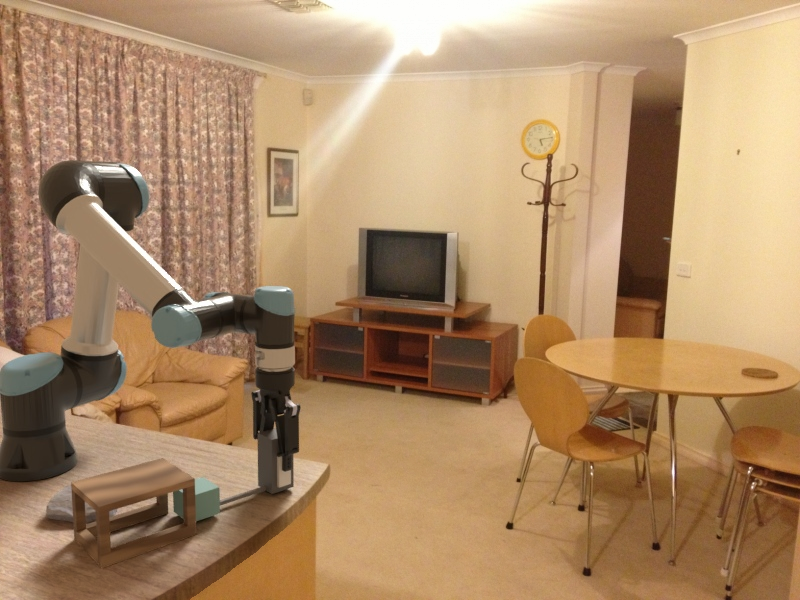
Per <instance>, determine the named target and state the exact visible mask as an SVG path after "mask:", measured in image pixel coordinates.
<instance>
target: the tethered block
mask: <svg viewBox="0 0 800 600" xmlns="http://www.w3.org/2000/svg"><path fill="white" fill-rule="evenodd" d="M278 453H280V451H279V445H278V438H277V431H276V427H275V428H274V429H271V430H267V431H263V432H260V431H258V440H257V486H258V487H257V488H254V489H251V490H247V491H244V492H242V493H239V494H236V495H232V496H229V497H226V498H222V499H221V495H220V486H218V485H217V484H215V483H214V482H212V481H210V480H209V479H207V478H206V477H204V476H202V477H199V478H195V506H196V522H198V521H202V520H204V519H207V518H210V517H213V516H215V515H216V516H217V515H219V514H220V513H221V506H224V505H227V504H230V503H233V502H235V501H239V500H241V499H245V498H247V497H250V496H253V495H257V494H259V493H262V492H265V491H266V492H268V493H270V494H272V495H273V494H276V493H279V492H282V491H285V490H288V489H291V488H294V483H295V482H294V480H295V479H294V454H292V468H291V484H289V485H286V486H283V487H280V488H279V487H277V454H278ZM172 501H173V506H172V507H173V512H174V514H176V515H177V516H179V517H180V518H181V519H182V520H184V517H183V489H181V490H178V491H174V492H172Z"/></svg>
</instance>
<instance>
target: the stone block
mask: <svg viewBox="0 0 800 600" xmlns="http://www.w3.org/2000/svg"><path fill="white" fill-rule="evenodd" d="M45 512H46V513H45V516H46V517H47V519H50V520H58V521H62V520H65V522H69V521H70V522H69V523H73V507H72V490H71V483H70V484H68V485H66V486H64V487H63V488H62V489H60V490H59V491H57V492H56V493H55V494H54V495H53V496H52V497H51V498H50V499H49V501H48V502H47V504H46V510H45ZM117 512H118V509H115V510H112V511H109V517H112V516H115V515H117ZM85 516H86V524H89V523H92V522H96V511H95V510H94V509H93V508H92V507H91V506H90V505H88V504H87V503H86V502H85Z"/></svg>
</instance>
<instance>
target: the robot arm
mask: <svg viewBox="0 0 800 600" xmlns="http://www.w3.org/2000/svg"><path fill="white" fill-rule="evenodd" d="M37 195H38V202H39V205H40V207H41V210H42V212H43V213H44V215H45V217H46V218H47V219H48V221H49V222H50V223H51V224H52V225H53V227H55V229H57V230H58V231H59V233H61V234H62V235H66V236H71V237H73V239H74V240H75V241H76V242H77V243H78V244H79V252H78V262H77V268H76V269H77V270H76V278H75V279H76V280H75V288H74V300H73V307H72V316H71V326H70V334H69V336H67V337H66V338H65V339H63V340H62V341H61V346H60V347H61V348H60V354H58V353H55V352H38V353H37V352H36V353H34V354H32V353H30V354H26V355H25V354H24V355H22V356H19V357H15V358H14V359H11V360H9V361H8V362H6V363H5V364H4V365H3V366H2V367H1V369H0V412H1V422H2V423H1V425H2V439H1V444H0V479H1V480H4V481H9V482H33V481H37V480H38V481H39V480H45V479H48V478H52V477H56V476H59V475H61V474H64V473H67V472H68V471H70V470H72V469H73V468H74V467H75V466H76V465H77V463H78V458H77V450H76V448H75V445H74V444H73V441H72V439H71V437H70V434H69V432H68V430H67V425H66V411H68V410H71V409H74V408H77V407H80V406H84V405H87V404H89V403H91V402H92V403H93V402H97V401H101V400H103V399H106V398H107V397H109V396H111V395H113V394H115V393H117V392H118V391H119V390H120V389H121V388H122V386H123V385H124V384H125V381H126V378H127V372H128V369H127V361H124V358H125V357H124V355H123V352H121V350H120V349H119V344H118V343H117V342H116V341H115V340H114V338H113V334H114V328H115V319H116V311H117V306H118V305H117V304H118V295H119V286H120V287H122V288H123V290H125V291H126V292H127V293H128V294H129V295H130V297H132V298H133V299H134V300H135V302H136V303H138V304H139V306H140V307H141V308H143V309H144V311H145V312H146V313H147V314H148V315H149V316H150V317H151V324H150V325H151V326H150V328H151V331H152V332H153V334H154V339H155V340H156V341H157V342H158V343H159V344H160V345H162V346H163V347H165V348H169V349H170V348H171V349H175V348H181V347H188V346H189V347H190V346H191V345H194V344H196V343H200V342H202V341H206V340H209V339H214V338H217V337H221V336H223V335H228V334H231V333H239V334H240V333H241V334H246V335H254V345H255V353H254V358H255V360H254V361H255V366H256V369H255V371H254V373H255V374H254V376H255V384H254V385H255V386H256V388H257V389H258V390H255V391H252V392H251V399H252V420H253V421H252V432H253V433H252V439H254V440H255V441H256V440H257V441H258V433H259V432H263V431H267V430H271V429H274V427H275V428H276V431H277V438H278V445H279V451H280V453H278V454H277V487H279V488H280V487H283V486H286V485H289V484H291V468H292V454H293V455H294V454H295V455H296V454H298V453H299V452H300V412H301V404H300V403H296V404H295V403H294V402H293V401H292V396H291V392H290V391H291V389H292V388H293V387H294V386H295V385H296V384H295V383H296V380H295V375H296V374H295V372H296V370H295V368H294V366H295V364H296V349H295V347H296V345H295V315H296V308H295V294H294V291H293V289H291V288H290V287H288V286H281V285H277V286H276V285H265V286H258V287H257V288H255V290H254V293H253V295H250V294H249V295H248V294H240V293H232V292H227V291H221V292H218V291H212V292H209V293H206V295H205V296H204V297H202V298H200V299H194V298H193V297H192V296H191V295H190V294H189V293H188V292H187V291H186V290H185V289H184V288H183V287H182V286H181V285H180V284H179V283H178V282H177V281H176V280H175V279H174V278H173V277H172V276H171V275H169V273H168V272H167V271H166V270H165V269H164V268H163V267H162V266H161V265H160V264H159V263H157V261H156V260H155V259H154V258H152V256H151V255H150V254H149V253H147V251H146V250H145V249H144V248H143V247H141V245H140V244H138V242H137V241H136V240H134V238H132V236H131V235H130V234H131V233H132V232H133V231H134V229H135V228H134V227H135V222H136V221H135V220H136V219H137V218H139V217H140V216H142V215H143V214H144V213H146V211H147V210H148V208H149V203H150V190H149V186H148V183H147V181H146V180H145V179H144V178H143V175H142V173H141V172H140V171H138V169H136V168H135V167H134V166H131V165H130V164H126V163H120V162H114V161H98V160H97V161H91V160H77V159H76V160H75V159H69V160H63V161H60V162H58V163H55V164H54V165H51V166H50V167H49V168H48V169H47V170H46V171H45V172H44V174H43V175H42V176H41V178H40V181H39V184H38V192H37Z"/></svg>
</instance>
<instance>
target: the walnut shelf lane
mask: <svg viewBox="0 0 800 600" xmlns="http://www.w3.org/2000/svg"><path fill="white" fill-rule="evenodd" d="M195 479H196V478H195V477H193V476H192V475H190V474H188V473H187V472H186V471H184V470H182V469H181V468H179V467H178V466H176V465H174V464H173V463H171V462H170V461H169V460H167V459H165V458H164V457H161V458H157V459H154V460H149V461H147V462H143V463H139V464H135V465H132V466H127V467H123V468H120V469H115V470H113V471H112V470H111V471H108V472H105V473H101V474H98V475H97V474H96V475H94V476H90V477H85V478H83V479H82V478H81V479H78V480H75V481H71V482H70V484H71V490H72V507H73V522H72V524H73V539H74V541H75V542H76V543H77V544H78V545H79V546H80V547H81V548H82V549H83V550H84V551H85V552H86V553H87V554H88V555H89V556H90V557H91V558H92V559H93V561H95V563H96V564H97V565H98V566H99V567H100V568H101V569H104V568H106V567H109V566H111V565H114V564H118V563H121V562H123V561H126V560H128V559H132V558H134V557H137V556H140V555H143V554H146V553H149V552H151V551H154V550H157V549H159V548H162V547H165V546H168V545H170V544H173V543H176V542H179V541H182V540H184V539H187V538H191V537H192V536H196V535H197V521H196V506H195ZM181 489H183V517H184V519H183V522H182V523H180V524H178V525H175V526H172V527H169V528H165V529H163V530H160V531H158V532H154V533H151V534H148V535H146V536H143V537H139V538H136V539H133V540H130V541H127V542H125V543H121V544H118V545H116V546H112V543H111V532H115V531H119V530H121V529H123V528H127V527H130V526H134V525H136V524H139V523H142V522H143V523H144V522H146V521H148V520H152V519H155V518H158V517H162V516H163V515H168V514H169V494H170V493H173V492H174V491H178V490H181ZM154 498H155V500H156V501H155V502H154V503H150V504H148V505H144V506H141V507H138V508H135V509H134V508H133V509H132V510H128V511H125V512H122V513H119V514H115V515H114V516H112V517H109V511H112V510H115V509H117V510H119V509H121V508H125V507H128V506H131V505H134V504H138V503H141V502H145V501H147V500H151V499H154ZM85 502H86V503H87V504H88V505H90V506H91V507H92V508H93V509H94V510H95V511H96V522H92V523H89V524H86V516H85Z"/></svg>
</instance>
